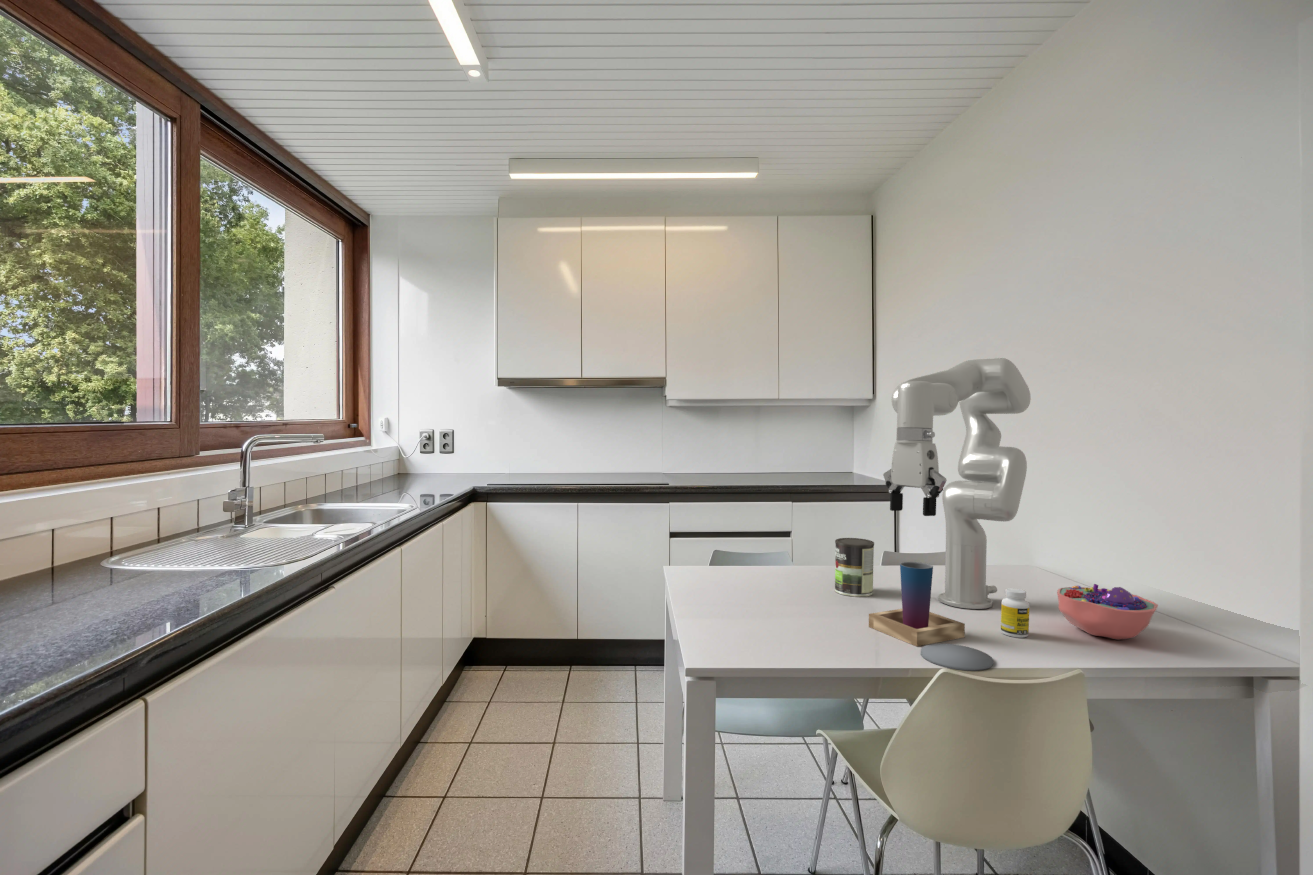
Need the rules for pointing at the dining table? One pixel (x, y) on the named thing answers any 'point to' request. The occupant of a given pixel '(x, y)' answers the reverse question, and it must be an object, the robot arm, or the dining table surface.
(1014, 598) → the supplement bottle
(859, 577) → the coffee can
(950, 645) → the disc
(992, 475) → the robot arm
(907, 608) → the cup
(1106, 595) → the cell model
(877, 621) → the socket
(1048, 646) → the dining table surface
